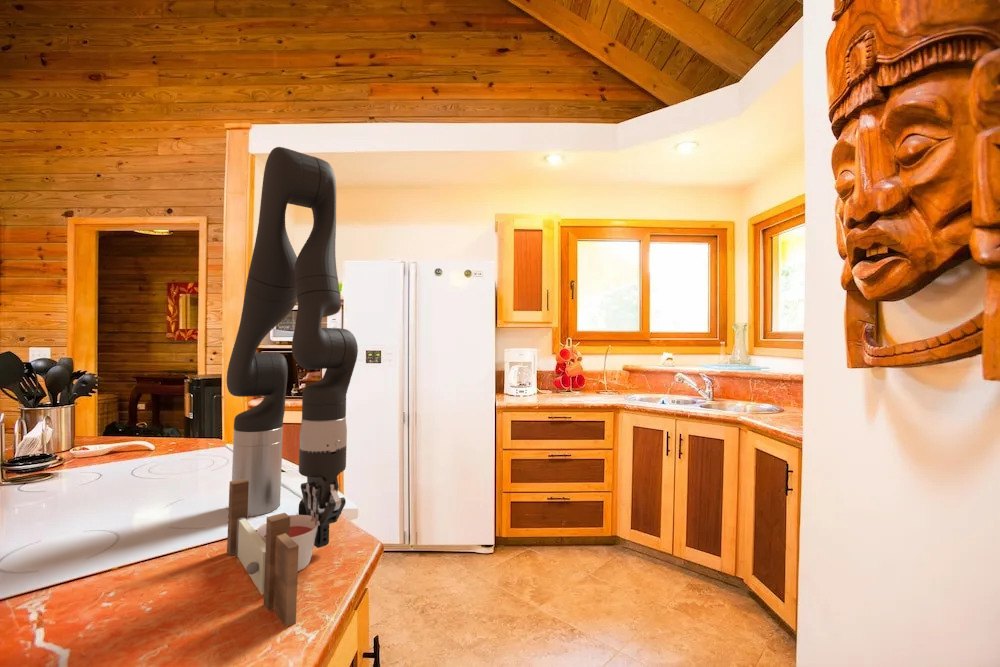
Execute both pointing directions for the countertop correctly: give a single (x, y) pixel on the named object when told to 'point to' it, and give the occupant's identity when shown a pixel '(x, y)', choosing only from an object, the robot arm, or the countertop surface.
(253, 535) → the door
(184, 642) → the countertop surface
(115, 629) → the countertop surface
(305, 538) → the candle
